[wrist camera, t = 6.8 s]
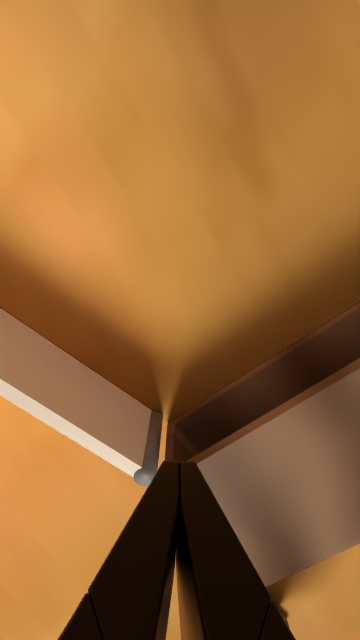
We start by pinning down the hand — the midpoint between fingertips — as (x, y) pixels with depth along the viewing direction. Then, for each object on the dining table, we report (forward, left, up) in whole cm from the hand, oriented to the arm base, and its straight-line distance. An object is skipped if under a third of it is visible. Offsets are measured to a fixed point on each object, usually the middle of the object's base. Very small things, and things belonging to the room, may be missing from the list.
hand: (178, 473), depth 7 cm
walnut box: (+4, -10, -11) cm, 15 cm away
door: (-8, +4, -11) cm, 14 cm away
